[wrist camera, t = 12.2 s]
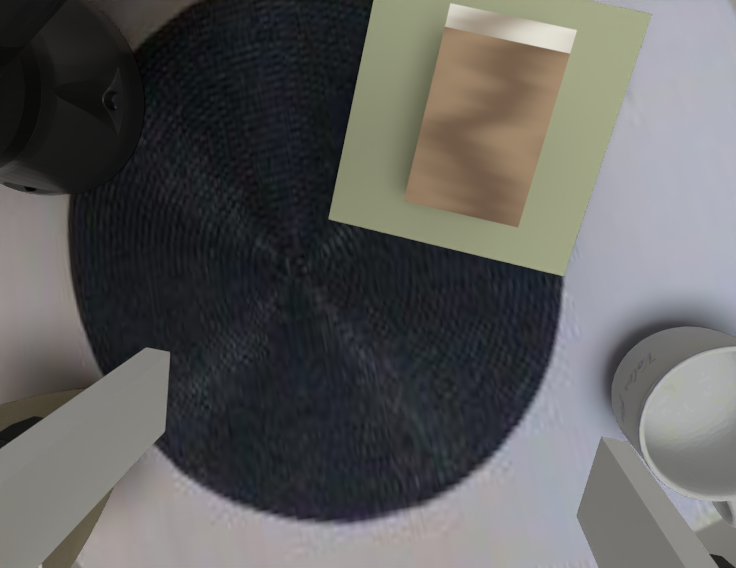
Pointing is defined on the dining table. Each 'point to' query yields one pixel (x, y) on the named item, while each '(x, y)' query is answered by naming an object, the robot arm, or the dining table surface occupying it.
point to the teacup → (683, 411)
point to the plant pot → (70, 547)
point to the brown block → (487, 113)
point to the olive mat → (559, 151)
